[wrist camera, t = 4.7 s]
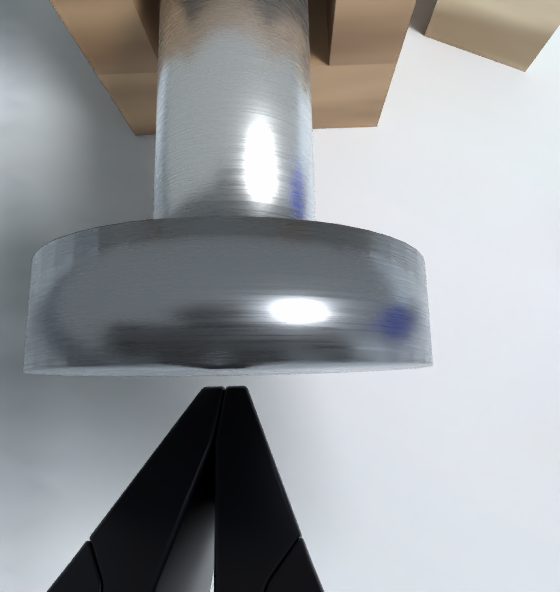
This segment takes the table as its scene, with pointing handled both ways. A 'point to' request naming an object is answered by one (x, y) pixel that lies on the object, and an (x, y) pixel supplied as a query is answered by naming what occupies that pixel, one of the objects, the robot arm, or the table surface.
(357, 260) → the shaft
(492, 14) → the spacer block
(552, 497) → the table surface
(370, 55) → the bearing block
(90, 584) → the robot arm
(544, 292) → the table surface
